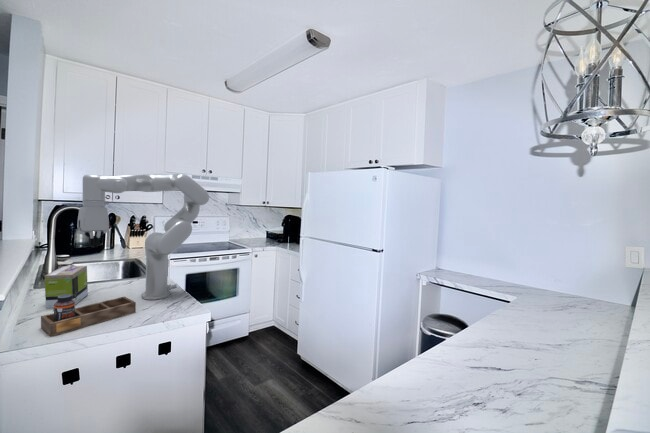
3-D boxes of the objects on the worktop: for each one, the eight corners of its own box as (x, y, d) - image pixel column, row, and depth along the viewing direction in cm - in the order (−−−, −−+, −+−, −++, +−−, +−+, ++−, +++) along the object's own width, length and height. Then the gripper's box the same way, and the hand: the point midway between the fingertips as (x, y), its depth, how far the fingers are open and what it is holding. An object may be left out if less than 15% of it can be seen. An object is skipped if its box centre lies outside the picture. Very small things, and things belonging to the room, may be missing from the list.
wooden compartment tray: (124, 306, 135) (124, 296, 134) (135, 312, 129) (136, 302, 129) (41, 328, 111) (40, 316, 111) (51, 337, 106) (51, 324, 105)
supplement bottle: (62, 329, 110) (62, 299, 109) (49, 327, 111) (49, 297, 110) (78, 322, 115) (78, 294, 114) (66, 320, 117) (66, 292, 116)
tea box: (62, 296, 142) (62, 265, 140) (88, 295, 145) (88, 265, 143) (44, 308, 127) (44, 274, 126) (73, 307, 130) (73, 274, 129)
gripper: (110, 203, 135) (109, 243, 137) (68, 203, 123) (68, 247, 124) (117, 205, 131) (117, 246, 133) (75, 205, 119) (75, 250, 120)
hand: (93, 246), depth 129 cm, fingers closed
